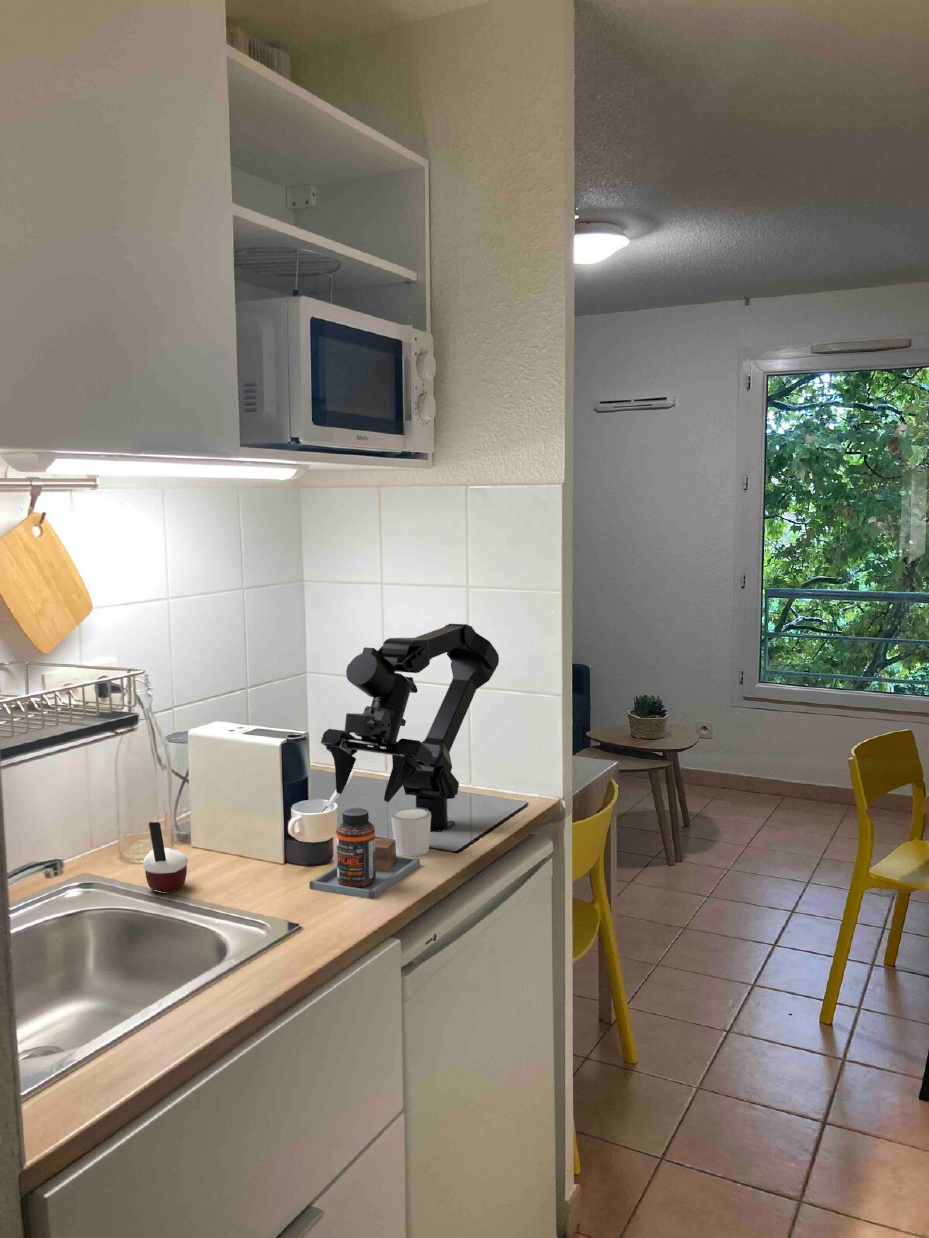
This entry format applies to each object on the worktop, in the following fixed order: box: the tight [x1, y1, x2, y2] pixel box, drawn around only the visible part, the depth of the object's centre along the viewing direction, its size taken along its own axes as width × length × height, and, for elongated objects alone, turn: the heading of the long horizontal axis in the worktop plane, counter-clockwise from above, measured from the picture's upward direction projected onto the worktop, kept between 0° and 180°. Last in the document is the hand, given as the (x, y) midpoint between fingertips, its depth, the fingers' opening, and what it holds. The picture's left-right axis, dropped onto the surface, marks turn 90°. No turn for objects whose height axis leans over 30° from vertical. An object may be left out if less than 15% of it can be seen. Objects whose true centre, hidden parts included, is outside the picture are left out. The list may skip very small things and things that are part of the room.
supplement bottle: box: [336, 807, 376, 888], centre depth 153 cm, size 6×6×11 cm
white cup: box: [390, 807, 431, 857], centre depth 167 cm, size 7×7×7 cm
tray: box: [308, 855, 421, 900], centre depth 156 cm, size 15×11×2 cm
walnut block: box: [375, 837, 397, 872], centre depth 160 cm, size 4×4×4 cm
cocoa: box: [142, 821, 189, 893], centre depth 153 cm, size 10×6×12 cm, turn 159°
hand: (362, 797), depth 162 cm, fingers open, 9 cm apart
